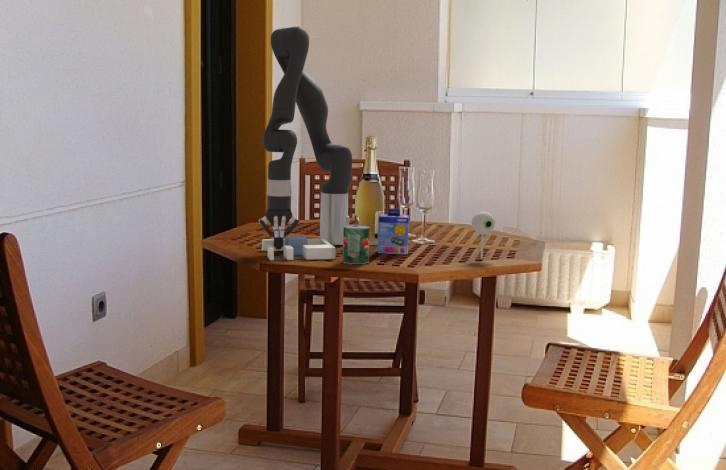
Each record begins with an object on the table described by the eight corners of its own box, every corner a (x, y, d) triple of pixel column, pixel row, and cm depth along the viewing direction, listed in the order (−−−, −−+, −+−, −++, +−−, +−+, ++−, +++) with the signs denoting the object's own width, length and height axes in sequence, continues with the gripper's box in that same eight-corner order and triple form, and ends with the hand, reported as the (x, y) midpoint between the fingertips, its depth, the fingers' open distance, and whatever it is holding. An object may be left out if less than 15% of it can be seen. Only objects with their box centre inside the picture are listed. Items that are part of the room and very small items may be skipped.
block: (303, 251, 294) (303, 236, 294) (307, 254, 289) (307, 239, 288) (284, 251, 293) (284, 236, 292) (288, 255, 287) (288, 239, 286)
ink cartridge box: (376, 253, 294) (378, 208, 292) (377, 250, 300) (378, 206, 297) (407, 254, 294) (409, 209, 291) (407, 251, 299) (409, 207, 297)
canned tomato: (372, 264, 276) (373, 227, 274) (346, 265, 273) (347, 228, 272) (364, 259, 283) (365, 224, 281) (339, 260, 281) (340, 224, 279)
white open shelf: (323, 249, 299) (323, 238, 299) (335, 258, 283) (335, 247, 282) (261, 250, 294) (262, 239, 294) (270, 260, 278) (270, 248, 277)
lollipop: (477, 261, 285) (479, 213, 283) (465, 257, 291) (468, 210, 289) (497, 260, 288) (499, 212, 285) (485, 256, 294) (487, 209, 292)
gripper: (298, 192, 292) (297, 246, 294) (256, 192, 289) (255, 247, 291) (302, 195, 285) (301, 250, 287) (259, 195, 281) (258, 251, 284)
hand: (278, 248), depth 289 cm, fingers closed
